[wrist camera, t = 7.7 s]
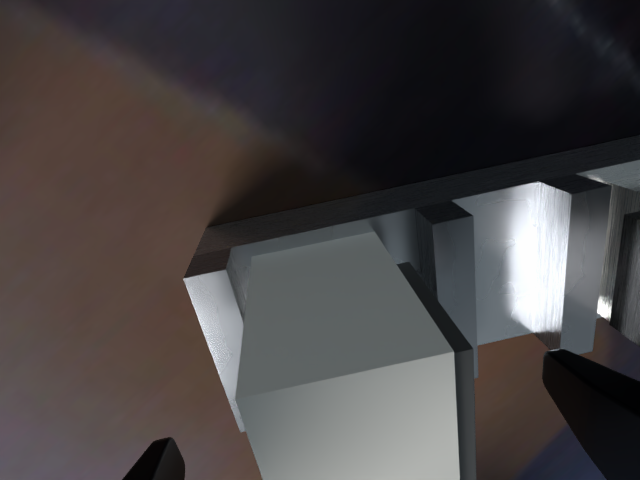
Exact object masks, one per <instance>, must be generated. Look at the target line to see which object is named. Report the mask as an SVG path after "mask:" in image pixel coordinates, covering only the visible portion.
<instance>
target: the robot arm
mask: <svg viewBox="0 0 640 480" xmlns="http://www.w3.org/2000/svg"><path fill="white" fill-rule="evenodd" d="M542 379H543V383H544V386H545V388H546V389H547V391H548V393H549V394H550V396H551V397H552V399H553V401H554V402H555V404H556V406H557V407H558V409H559V410H560V412H561V414H562V415H563V417H564V418H565V420H566V422H567V423H568V425H569V426H570V428H571V430H572V431H573V433H574V435H575V436H576V438H577V439H578V441H579V442H580V444H581V445H582V447H583V448H584V450H585V451H586V453H587V454H588V455H589V457H590V458H591V459H592V461H593V462H594V463H595V465H596V466H597V467H598V469H599V470H600V471H601V473H602V474H603V475H604V477H605V478H606V479H607V480H640V382H639V381H637V380H635V379H632V378H630V377H628V376H626V375H623V374H621V373H619V372H616V371H614V370H612V369H610V368H607V367H605V366H603V365H600V364H598V363H596V362H593V361H591V360H589V359H587V358H584V357H582V356H580V355H577V354H575V353H573V352H571V351H568V350H566V349H562V348H559V349H555V350H550V351H547V352H545V354H544V357H543V373H542ZM184 478H185V463H184V460H183V457H182V455H181V453H180V451H179V449H178V447H177V445H176V443H175V441H174V439H173V438H171V437H168V438H164V439H159V440H156V441H154V442H153V443H152V444H151V445H150V446H149V447H148V448H147V450H146V451H145V452H144V453H143V455H142V456H141V457H140V458H139V459H138V461H137V462H136V463H135V464H134V466H133V467H132V468H131V469H130V471H129V472H128V473H127V474H126V476H125V477H124V478H123V479H122V480H184Z"/></svg>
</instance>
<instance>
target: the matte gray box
mask: <svg viewBox="0 0 640 480" xmlns="http://www.w3.org/2000/svg"><path fill="white" fill-rule="evenodd" d="M235 401H236V404H237V406H238V409H239V412H240V415H241V418H242V421H243V424H244V427H245V430H246V432H247V435H248V438H249V441H250V444H251V447H252V450H253V453H254V455H255V458H256V461H257V464H258V467H259V470H260V473H261V476H262V479H263V480H476V442H475V394H474V349H473V348H472V346H471V345H470V343H469V342H468V341H467V339H466V338H465V337H464V335H463V334H462V333H461V331H460V330H459V329H458V327H457V326H456V325H455V323H454V322H453V320H452V319H451V318H450V316H449V315H448V314H447V312H446V311H445V310H444V308H443V307H442V306H441V304H440V303H439V302H438V300H437V299H436V297H435V296H434V295H433V293H432V292H431V291H430V289H429V288H428V287H427V285H426V284H425V283H424V281H423V280H422V279H421V277H420V276H419V274H418V273H417V272H416V270H415V269H414V268H413V266H412V265H411V264H410V262H404V263H400V264H396V263H395V262H394V260H393V259H392V257H391V255H390V254H389V252H388V251H387V249H386V248H385V246H384V245H383V243H382V242H381V240H380V239H379V237H378V236H377V234H376V233H375V231H374V232H369V233H365V234H360V235H355V236H350V237H345V238H340V239H335V240H331V241H326V242H321V243H316V244H311V245H306V246H301V247H296V248H292V249H287V250H282V251H277V252H272V253H267V254H262V255H258V256H253V257H252V259H251V267H250V276H249V285H248V293H247V302H246V310H245V319H244V327H243V336H242V344H241V353H240V361H239V370H238V379H237V387H236V396H235Z"/></svg>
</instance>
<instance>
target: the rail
mask: <svg viewBox="0 0 640 480" xmlns="http://www.w3.org/2000/svg"><path fill="white" fill-rule="evenodd" d="M374 231H375V233H376V234H377V236H378V237H379V239H380V240H381V242H382V243H383V245H384V246H385V248H386V249H387V251H388V252H389V254H390V255H391V257H392V259H393V260H394V262H395V263H396V264H400V263H404V262H410V264H411V265H412V266H413V268H414V269H415V270H416V272H417V273H418V274H419V276H420V277H421V279H422V280H423V281H424V283H425V284H426V285H427V287H428V288H429V289H430V291H431V292H432V293H433V295H434V296H435V297H436V299H437V300H438V302H439V303H440V304H441V306H442V307H443V308H444V310H445V311H446V312H447V314H448V315H449V316H450V318H451V319H452V320H453V322H454V323H455V325H456V326H457V327H458V329H459V330H460V331H461V333H462V334H463V335H464V337H465V338H466V339H467V341H468V342H469V343H470V345H471V346H472V348H473V349H474V378H478V353H477V345H481V344H486V343H490V342H494V341H499V340H503V339H508V338H512V337H516V336H521V335H525V334H530V333H534V334H535V335H536V336H537V337H538V338H539V339H540V340H541V341H542V342H543V343H544V344H545V345H546V346H547V347H548V348H549V349H550V350H555V349H559V348H562V349H566V350H568V351H571V352H573V353H575V354H577V355H578V354H582V353H587V352H591V351H593V342H594V334H595V325H596V318H600V317H604V318H605V319H607V320H608V321H609V322H610V324H609V325H611V326H612V327H614V328H615V329H616V330H618V331H619V332H620V333H622V334H623V335H624V336H626V337H627V338H629V339H630V340H631V341H633V342H634V343H635V344H637V345H638V346H639V347H640V135H638V136H633V137H629V138H624V139H619V140H615V141H610V142H605V143H601V144H596V145H591V146H586V147H582V148H577V149H572V150H568V151H563V152H558V153H554V154H549V155H544V156H540V157H535V158H530V159H525V160H521V161H516V162H511V163H507V164H502V165H497V166H493V167H488V168H483V169H479V170H474V171H469V172H464V173H460V174H455V175H450V176H446V177H441V178H436V179H432V180H427V181H422V182H418V183H413V184H408V185H404V186H399V187H394V188H389V189H385V190H380V191H375V192H371V193H366V194H361V195H357V196H352V197H347V198H343V199H338V200H333V201H328V202H324V203H319V204H314V205H310V206H305V207H300V208H296V209H291V210H286V211H282V212H277V213H272V214H268V215H263V216H258V217H253V218H249V219H244V220H239V221H235V222H230V223H225V224H221V225H216V226H211V227H207V228H206V229H205V231H204V233H203V236H202V238H201V240H200V242H199V245H198V247H197V249H196V251H195V254H194V256H193V258H192V260H191V263H190V265H189V267H188V269H187V272H186V274H185V276H184V278H183V279H184V282H185V284H186V287H187V290H188V292H189V295H190V298H191V300H192V303H193V306H194V308H195V311H196V314H197V317H198V319H199V322H200V325H201V327H202V330H203V333H204V335H205V338H206V341H207V343H208V346H209V349H210V351H211V354H212V357H213V360H214V362H215V365H216V368H217V370H218V373H219V376H220V378H221V381H222V384H223V386H224V389H225V392H226V394H227V397H228V400H229V403H230V405H231V408H232V411H233V413H234V416H235V419H236V421H237V424H238V427H239V429H240V432H243V431H246V430H245V427H244V424H243V421H242V418H241V415H240V412H239V409H238V406H237V404H236V401H235V396H236V387H237V379H238V370H239V361H240V353H241V344H242V336H243V327H244V319H245V310H246V302H247V293H248V285H249V276H250V267H251V259H252V257H253V256H258V255H262V254H267V253H272V252H277V251H282V250H287V249H292V248H296V247H301V246H306V245H311V244H316V243H321V242H326V241H331V240H335V239H340V238H345V237H350V236H355V235H360V234H365V233H369V232H374Z"/></svg>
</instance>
